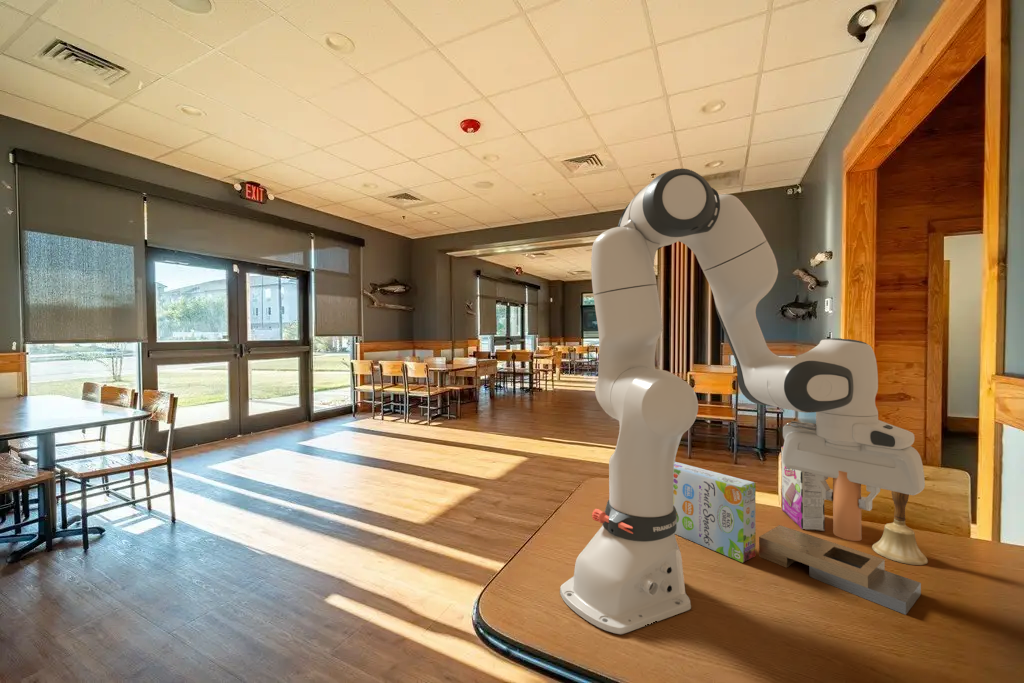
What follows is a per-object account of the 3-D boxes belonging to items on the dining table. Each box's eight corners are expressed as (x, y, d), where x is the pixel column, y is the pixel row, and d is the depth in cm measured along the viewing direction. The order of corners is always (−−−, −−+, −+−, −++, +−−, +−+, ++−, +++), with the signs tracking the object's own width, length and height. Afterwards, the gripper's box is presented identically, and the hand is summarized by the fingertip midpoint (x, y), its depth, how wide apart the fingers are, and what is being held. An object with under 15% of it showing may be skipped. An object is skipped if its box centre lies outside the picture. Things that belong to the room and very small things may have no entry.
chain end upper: (867, 599, 71) (867, 576, 71) (759, 556, 85) (759, 536, 85) (884, 581, 76) (884, 559, 76) (779, 543, 90) (779, 525, 90)
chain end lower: (905, 614, 67) (905, 602, 67) (809, 576, 78) (809, 565, 78) (920, 594, 72) (920, 582, 72) (828, 561, 83) (828, 551, 83)
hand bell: (928, 554, 85) (928, 475, 85) (927, 570, 79) (926, 485, 79) (874, 540, 91) (874, 466, 91) (869, 554, 85) (869, 475, 85)
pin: (857, 542, 74) (856, 474, 74) (829, 534, 77) (829, 468, 77) (864, 536, 76) (864, 470, 76) (838, 528, 79) (837, 464, 79)
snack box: (757, 556, 85) (757, 481, 85) (743, 564, 82) (742, 487, 82) (666, 519, 103) (666, 457, 103) (651, 525, 99) (651, 461, 99)
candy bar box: (780, 510, 107) (780, 445, 107) (802, 511, 106) (802, 446, 106) (801, 530, 96) (800, 458, 96) (825, 532, 95) (825, 459, 95)
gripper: (775, 421, 83) (776, 491, 83) (916, 441, 66) (917, 529, 67) (789, 417, 87) (790, 484, 87) (927, 435, 70) (927, 518, 70)
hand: (846, 504), depth 77 cm, fingers closed on pin, 4 cm apart
